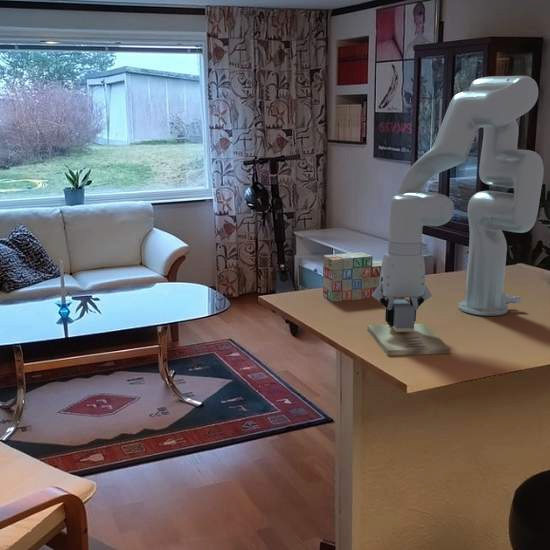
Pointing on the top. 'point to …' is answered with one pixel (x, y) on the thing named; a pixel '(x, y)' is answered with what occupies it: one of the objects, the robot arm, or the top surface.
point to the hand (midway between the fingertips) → (400, 323)
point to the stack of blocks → (350, 276)
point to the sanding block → (403, 316)
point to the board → (408, 340)
